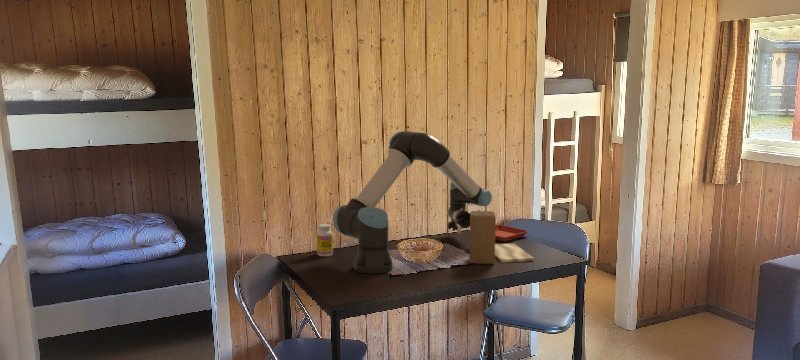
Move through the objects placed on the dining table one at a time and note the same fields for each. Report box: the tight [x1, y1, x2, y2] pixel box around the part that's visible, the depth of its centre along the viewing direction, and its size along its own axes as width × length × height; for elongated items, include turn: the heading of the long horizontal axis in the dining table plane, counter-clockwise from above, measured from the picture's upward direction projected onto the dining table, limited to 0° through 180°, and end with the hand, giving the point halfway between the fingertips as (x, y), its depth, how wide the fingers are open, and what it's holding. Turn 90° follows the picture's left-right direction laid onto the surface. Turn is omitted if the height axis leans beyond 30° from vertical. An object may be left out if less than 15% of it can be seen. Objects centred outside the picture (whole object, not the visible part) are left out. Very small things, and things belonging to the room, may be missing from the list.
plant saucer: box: [495, 224, 529, 243], centre depth 296 cm, size 18×18×3 cm
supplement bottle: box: [316, 223, 334, 257], centre depth 264 cm, size 7×7×13 cm
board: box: [495, 242, 535, 263], centre depth 266 cm, size 14×24×1 cm, turn 9°
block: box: [468, 210, 497, 265], centre depth 254 cm, size 10×10×20 cm
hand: (475, 229), depth 263 cm, fingers open, 13 cm apart
